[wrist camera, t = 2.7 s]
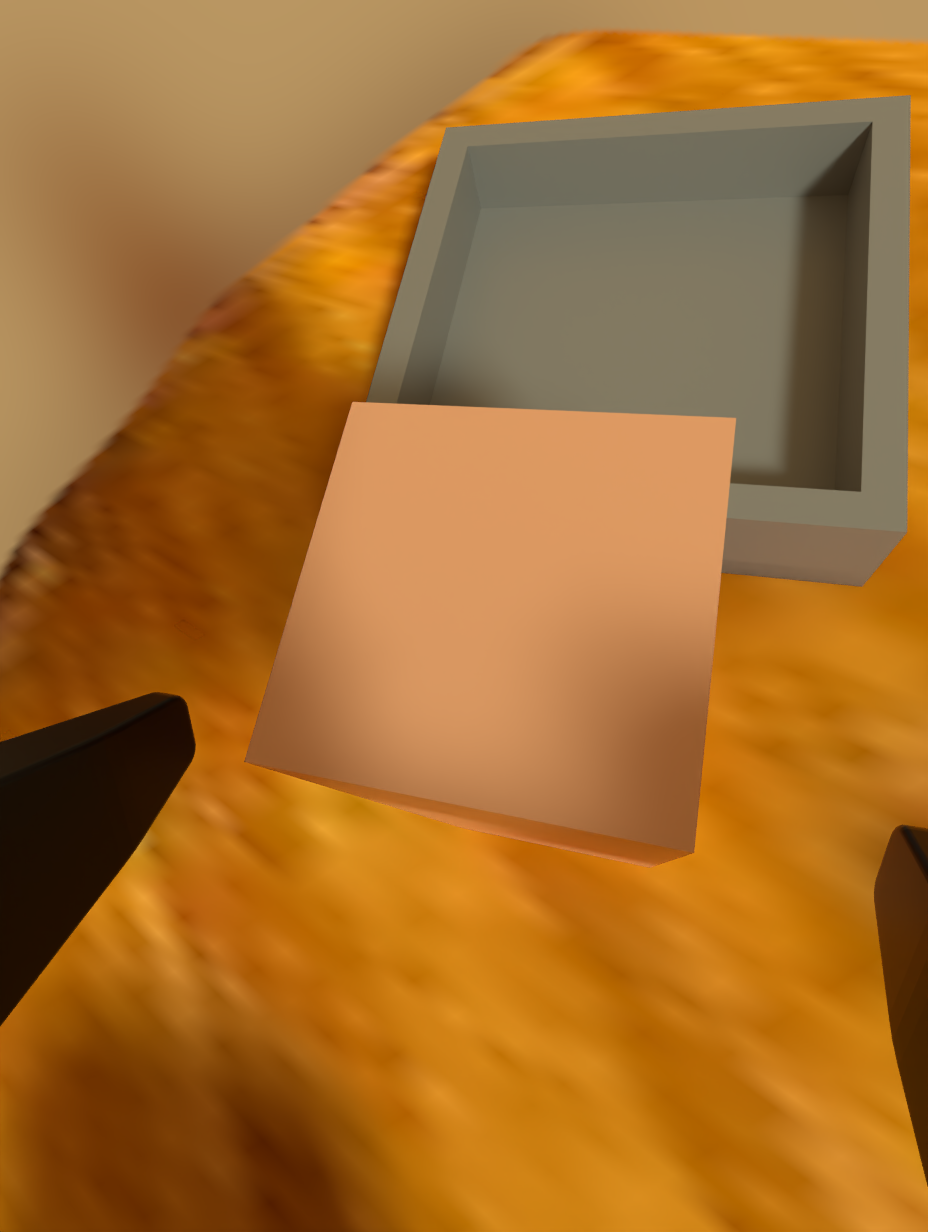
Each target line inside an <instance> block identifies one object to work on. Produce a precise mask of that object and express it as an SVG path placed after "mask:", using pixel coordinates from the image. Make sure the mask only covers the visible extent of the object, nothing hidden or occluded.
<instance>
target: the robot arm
mask: <svg viewBox="0 0 928 1232" xmlns="http://www.w3.org/2000/svg"><path fill="white" fill-rule="evenodd" d="M195 747H196V744H195V738H194V734H193V729H192V724H191V720H190V715H189V711H188V706H187V703H186V702H185V700H184V699H183V698H182V697H180V696H177V695H172V694H166V693H160V692H154V693H150V694H147V695H144V696H141V697H138V698H135V699H132V700H129V701H125V702H122V703H119V704H116V705H113V706H110V707H107V708H104V709H101V710H98V711H95V712H92V713H89V714H86V715H82V716H79V717H76V718H73V719H70V720H67V721H64V722H61V723H58V724H55V725H52V726H49V727H46V728H43V729H39V730H36V731H33V732H30V733H27V734H24V735H21V736H18V737H15V738H12V739H9V740H6V741H3V742H0V1026H1V1025H2V1024H3V1022H4V1021H5V1020H6V1018H7V1017H8V1016H9V1015H10V1013H11V1012H12V1011H13V1009H14V1008H15V1007H16V1005H17V1004H18V1003H19V1001H20V1000H21V999H22V998H23V996H24V995H25V994H26V992H27V991H28V990H29V988H30V987H31V986H32V985H33V983H34V982H35V981H36V979H37V978H38V977H39V975H40V974H41V973H42V972H43V970H44V969H45V968H46V966H47V965H48V964H49V962H50V961H51V960H52V959H53V957H54V956H55V955H56V953H57V952H58V951H59V949H60V948H61V947H62V946H63V944H64V943H65V942H66V940H67V939H68V938H69V936H70V935H71V934H72V933H73V931H74V930H75V929H76V927H77V926H78V925H79V923H80V922H81V921H82V920H83V918H84V917H85V916H86V914H87V913H88V912H89V910H90V909H91V908H92V907H93V905H94V904H95V903H96V901H97V900H98V899H99V897H100V896H101V895H102V893H103V892H104V891H105V890H106V888H107V887H108V886H109V884H110V883H111V882H112V880H113V879H114V878H115V877H116V875H117V874H118V873H119V871H120V870H121V869H122V867H123V866H124V865H125V863H126V862H127V861H128V859H129V858H130V857H131V855H132V854H133V853H134V851H135V850H136V848H137V847H138V845H139V844H140V842H141V841H142V839H143V838H144V836H145V835H146V833H147V831H148V830H149V828H150V827H151V825H152V824H153V822H154V820H155V819H156V817H157V816H158V814H159V812H160V811H161V809H162V808H163V806H164V805H165V803H166V801H167V800H168V798H169V797H170V795H171V793H172V792H173V790H174V789H175V787H176V785H177V784H178V782H179V781H180V779H181V778H182V776H183V774H184V773H185V771H186V770H187V768H188V766H189V765H190V763H191V761H192V759H193V757H194V754H195ZM874 902H875V911H876V919H877V927H878V935H879V943H880V950H881V958H882V966H883V974H884V982H885V990H886V998H887V1006H888V1014H889V1021H890V1028H891V1034H892V1041H893V1046H894V1050H895V1055H896V1059H897V1064H898V1068H899V1072H900V1076H901V1081H902V1085H903V1089H904V1093H905V1097H906V1101H907V1105H908V1109H909V1113H910V1117H911V1121H912V1125H913V1129H914V1133H915V1137H916V1141H917V1145H918V1149H919V1153H920V1158H921V1162H922V1166H923V1170H924V1174H925V1178H926V1182H927V1186H928V829H926V828H921V827H915V826H909V825H900V826H898V827H896V828H895V830H894V831H893V832H892V834H891V837H890V840H889V843H888V846H887V848H886V851H885V854H884V857H883V860H882V863H881V866H880V869H879V872H878V875H877V878H876V881H875V888H874Z"/></svg>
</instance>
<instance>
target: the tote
mask: <svg viewBox="0 0 928 1232" xmlns="http://www.w3.org/2000/svg"><path fill="white" fill-rule="evenodd" d="M909 214H910V95H909V96H894V97H880V98H866V99H851V100H837V101H823V102H808V103H794V104H780V105H765V106H751V107H737V108H722V109H708V110H694V111H679V112H665V113H651V114H636V115H622V116H608V117H593V118H579V119H565V120H550V121H536V122H522V123H507V124H493V125H479V126H464V127H450V128H446V131H445V134H444V138H443V141H442V144H441V148H440V151H439V155H438V158H437V161H436V165H435V168H434V172H433V175H432V179H431V182H430V185H429V189H428V192H427V196H426V199H425V202H424V206H423V209H422V213H421V216H420V220H419V223H418V226H417V230H416V233H415V237H414V240H413V243H412V247H411V250H410V254H409V257H408V260H407V264H406V267H405V271H404V274H403V278H402V281H401V284H400V288H399V291H398V295H397V298H396V301H395V305H394V308H393V312H392V315H391V319H390V322H389V325H388V329H387V332H386V336H385V339H384V342H383V346H382V349H381V353H380V356H379V360H378V363H377V366H376V370H375V373H374V377H373V380H372V383H371V387H370V390H369V394H368V397H367V400H366V402H369V403H393V404H417V405H440V406H464V407H488V408H512V409H536V410H559V411H583V412H607V413H631V414H655V415H679V416H702V417H726V418H736V426H735V436H734V446H733V457H732V467H731V477H730V487H729V498H728V508H727V518H726V529H725V539H724V549H723V560H722V570H721V573H731V574H741V575H751V576H762V577H772V578H782V579H792V580H802V581H812V582H822V583H832V584H842V585H853V586H863V585H864V584H865V582H866V581H867V580H868V579H869V578H870V576H871V575H872V574H873V573H874V571H875V570H876V569H877V568H878V567H879V565H880V564H881V563H882V562H883V561H884V559H885V558H886V557H887V556H888V555H889V553H890V552H891V551H892V550H893V549H894V547H895V546H896V545H897V544H898V542H899V541H900V540H901V539H902V538H903V536H904V535H905V534H906V533H907V471H908V342H909Z"/></svg>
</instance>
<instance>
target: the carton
mask: <svg viewBox="0 0 928 1232" xmlns="http://www.w3.org/2000/svg"><path fill="white" fill-rule="evenodd" d="M735 426H736V418H726V417H702V416H679V415H655V414H631V413H607V412H583V411H559V410H536V409H512V408H488V407H464V406H440V405H417V404H393V403H369V402H352V405H351V408H350V412H349V415H348V418H347V422H346V425H345V428H344V432H343V435H342V438H341V442H340V445H339V448H338V452H337V455H336V458H335V462H334V465H333V468H332V472H331V475H330V478H329V482H328V485H327V488H326V491H325V495H324V498H323V501H322V505H321V508H320V511H319V515H318V518H317V521H316V525H315V528H314V531H313V535H312V538H311V541H310V545H309V548H308V551H307V555H306V558H305V561H304V565H303V568H302V571H301V575H300V578H299V581H298V585H297V588H296V591H295V595H294V598H293V601H292V605H291V608H290V611H289V615H288V618H287V621H286V625H285V628H284V631H283V635H282V638H281V641H280V645H279V648H278V651H277V655H276V658H275V661H274V665H273V668H272V671H271V675H270V678H269V681H268V685H267V688H266V691H265V695H264V698H263V701H262V705H261V708H260V711H259V715H258V718H257V721H256V725H255V728H254V731H253V735H252V738H251V741H250V745H249V748H248V751H247V755H246V758H245V761H244V762H247V763H250V764H254V765H257V766H260V767H263V768H267V769H270V770H273V771H277V772H280V773H283V774H286V775H290V776H293V777H296V778H300V779H303V780H306V781H310V782H313V783H316V784H319V785H323V786H326V787H329V788H333V789H336V790H339V791H343V792H346V793H349V794H352V795H356V796H359V797H362V798H366V799H369V800H372V801H376V802H379V803H382V804H385V805H389V806H392V807H395V808H399V809H402V810H405V811H408V812H412V813H415V814H418V815H422V816H425V817H428V818H432V819H435V820H438V821H441V822H445V823H448V824H451V825H455V826H458V827H461V828H465V829H470V830H475V831H480V832H484V833H489V834H494V835H498V836H503V837H508V838H513V839H517V840H522V841H527V842H532V843H536V844H541V845H546V846H550V847H555V848H560V849H565V850H569V851H574V852H579V853H584V854H588V855H593V856H598V857H602V858H607V859H612V860H617V861H621V862H626V863H631V864H636V865H640V866H645V867H653V866H656V865H659V864H662V863H665V862H668V861H671V860H674V859H677V858H680V857H683V856H686V855H689V854H692V853H694V848H695V838H696V827H697V817H698V807H699V796H700V786H701V776H702V765H703V755H704V745H705V735H706V724H707V714H708V704H709V693H710V683H711V673H712V662H713V652H714V642H715V632H716V621H717V611H718V601H719V590H720V580H721V570H722V560H723V549H724V539H725V529H726V518H727V508H728V498H729V487H730V477H731V467H732V457H733V446H734V436H735Z"/></svg>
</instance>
